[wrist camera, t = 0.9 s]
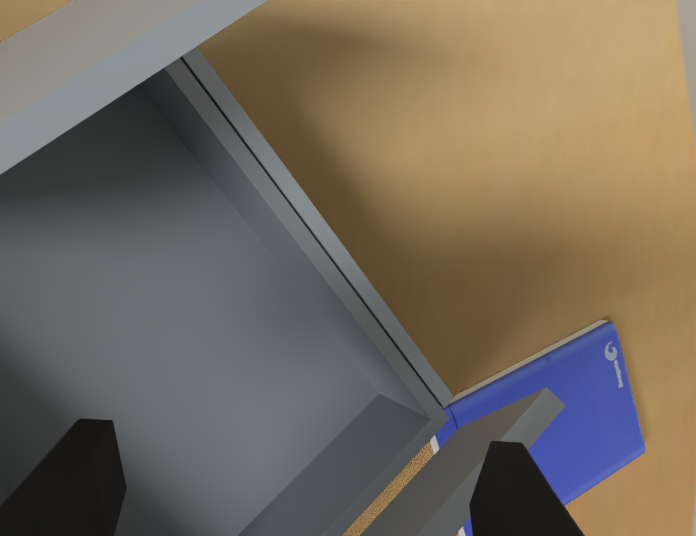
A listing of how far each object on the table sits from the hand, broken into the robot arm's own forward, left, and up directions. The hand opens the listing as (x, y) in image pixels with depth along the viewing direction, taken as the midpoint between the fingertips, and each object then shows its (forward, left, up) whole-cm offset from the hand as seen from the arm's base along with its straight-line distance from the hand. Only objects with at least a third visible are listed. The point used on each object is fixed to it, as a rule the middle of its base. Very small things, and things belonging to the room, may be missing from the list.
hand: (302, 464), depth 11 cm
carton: (-1, +2, -13) cm, 13 cm away
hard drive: (+11, -15, -14) cm, 23 cm away
